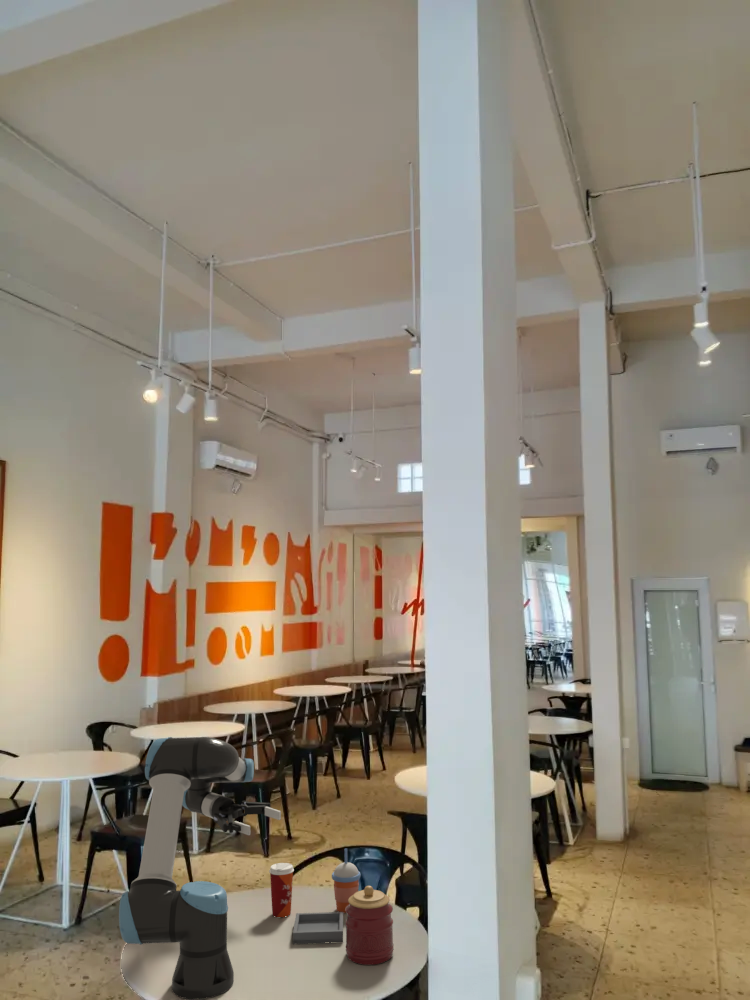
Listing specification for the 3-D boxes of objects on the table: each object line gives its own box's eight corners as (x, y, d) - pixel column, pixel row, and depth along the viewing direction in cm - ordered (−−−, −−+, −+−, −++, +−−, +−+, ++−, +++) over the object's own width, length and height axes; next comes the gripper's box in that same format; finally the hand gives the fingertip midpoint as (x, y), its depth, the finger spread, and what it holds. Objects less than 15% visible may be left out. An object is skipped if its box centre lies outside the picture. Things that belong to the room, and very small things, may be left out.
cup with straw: (366, 907, 241) (365, 846, 244) (350, 917, 234) (349, 854, 236) (342, 902, 246) (342, 842, 249) (326, 911, 239) (325, 850, 241)
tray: (293, 944, 216) (292, 932, 216) (296, 924, 230) (296, 913, 230) (343, 942, 216) (342, 931, 217) (343, 922, 230) (343, 911, 230)
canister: (355, 969, 200) (354, 897, 202) (339, 949, 212) (338, 881, 214) (401, 960, 205) (400, 890, 207) (382, 941, 217) (381, 875, 219)
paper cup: (289, 919, 233) (289, 870, 235) (265, 918, 234) (265, 869, 236) (297, 909, 240) (297, 862, 242) (273, 908, 242) (274, 861, 244)
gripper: (246, 806, 265) (292, 821, 252) (189, 832, 245) (236, 849, 232) (246, 784, 265) (291, 798, 252) (189, 808, 245) (235, 825, 232)
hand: (265, 823), depth 242 cm, fingers open, 13 cm apart
